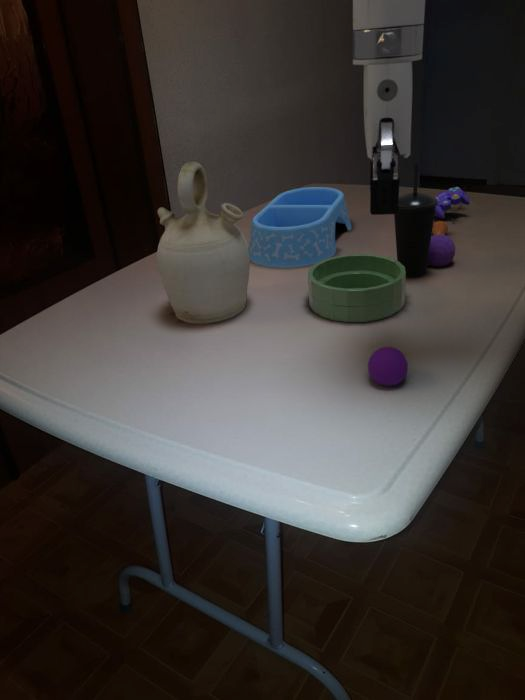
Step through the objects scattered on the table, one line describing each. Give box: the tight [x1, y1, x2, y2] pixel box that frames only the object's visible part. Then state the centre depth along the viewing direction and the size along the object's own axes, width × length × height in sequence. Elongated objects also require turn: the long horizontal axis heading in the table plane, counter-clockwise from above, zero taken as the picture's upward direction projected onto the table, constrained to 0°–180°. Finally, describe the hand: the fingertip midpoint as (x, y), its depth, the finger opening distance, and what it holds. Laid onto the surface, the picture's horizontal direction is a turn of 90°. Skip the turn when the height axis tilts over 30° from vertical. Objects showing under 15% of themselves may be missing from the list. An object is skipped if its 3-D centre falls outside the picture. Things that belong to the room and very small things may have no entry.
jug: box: [156, 161, 251, 324], centre depth 91 cm, size 15×16×25 cm
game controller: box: [434, 185, 471, 223], centre depth 128 cm, size 10×8×10 cm
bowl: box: [307, 253, 407, 323], centre depth 92 cm, size 16×16×6 cm
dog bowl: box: [248, 186, 353, 269], centre depth 122 cm, size 34×19×8 cm, turn 161°
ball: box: [367, 346, 409, 387], centre depth 71 cm, size 5×5×5 cm
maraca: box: [427, 220, 456, 268], centre depth 109 cm, size 6×6×20 cm
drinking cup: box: [393, 161, 438, 278], centre depth 97 cm, size 8×8×20 cm
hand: (383, 202), depth 70 cm, fingers open, 9 cm apart
